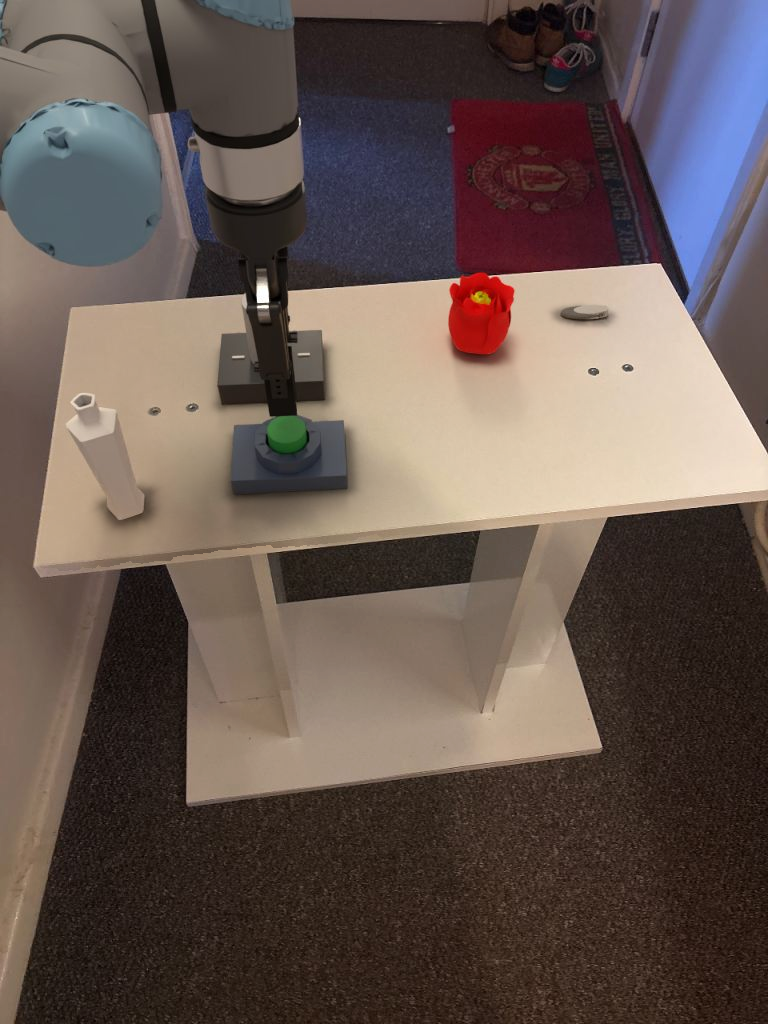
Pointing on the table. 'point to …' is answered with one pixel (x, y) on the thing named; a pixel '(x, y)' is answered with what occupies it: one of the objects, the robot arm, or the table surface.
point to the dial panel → (246, 384)
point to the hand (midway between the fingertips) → (283, 406)
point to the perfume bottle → (106, 454)
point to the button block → (289, 459)
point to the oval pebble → (585, 312)
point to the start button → (287, 434)
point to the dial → (250, 331)
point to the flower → (480, 313)
